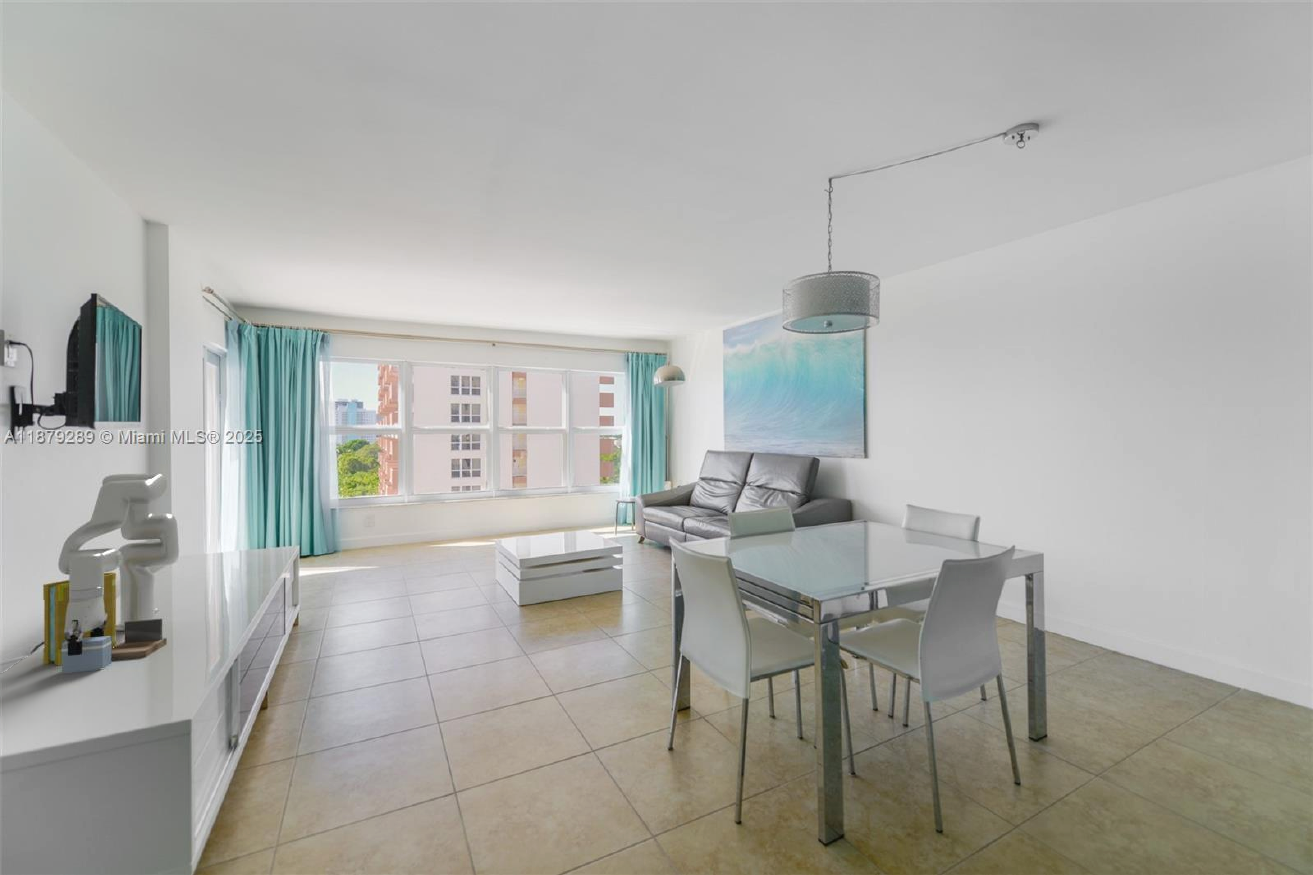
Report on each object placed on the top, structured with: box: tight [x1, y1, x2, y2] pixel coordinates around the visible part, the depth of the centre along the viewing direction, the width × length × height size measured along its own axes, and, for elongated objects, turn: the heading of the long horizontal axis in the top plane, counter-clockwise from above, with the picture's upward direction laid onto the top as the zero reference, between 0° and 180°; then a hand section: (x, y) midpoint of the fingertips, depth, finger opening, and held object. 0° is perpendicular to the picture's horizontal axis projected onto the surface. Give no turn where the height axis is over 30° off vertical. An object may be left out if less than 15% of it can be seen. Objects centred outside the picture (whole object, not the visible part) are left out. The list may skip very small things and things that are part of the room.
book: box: [42, 571, 117, 666], centre depth 183 cm, size 17×7×25 cm, turn 168°
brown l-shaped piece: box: [111, 618, 167, 660], centre depth 184 cm, size 12×12×9 cm
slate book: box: [61, 636, 112, 674], centre depth 171 cm, size 4×10×9 cm, turn 107°
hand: (86, 649), depth 171 cm, fingers open, 9 cm apart
